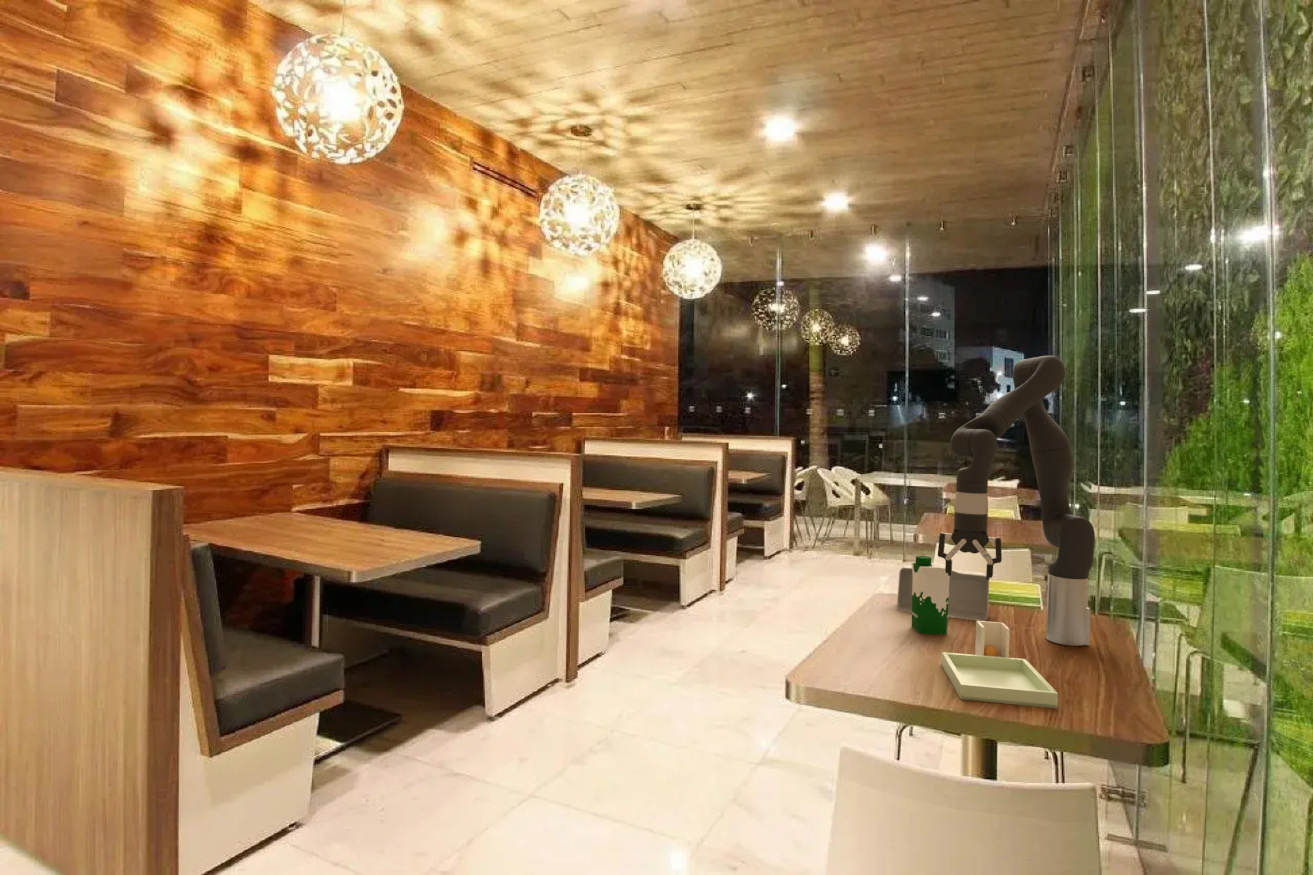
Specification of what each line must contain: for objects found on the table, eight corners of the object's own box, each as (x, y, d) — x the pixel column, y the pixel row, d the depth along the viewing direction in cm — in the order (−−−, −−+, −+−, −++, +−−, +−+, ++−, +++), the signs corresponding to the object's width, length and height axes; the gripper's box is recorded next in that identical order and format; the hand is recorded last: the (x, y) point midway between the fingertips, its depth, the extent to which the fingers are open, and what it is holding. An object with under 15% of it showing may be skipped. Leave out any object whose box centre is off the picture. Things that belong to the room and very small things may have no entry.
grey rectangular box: (988, 610, 224) (989, 569, 224) (987, 622, 210) (989, 578, 210) (902, 600, 235) (904, 561, 235) (896, 611, 220) (897, 569, 220)
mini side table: (974, 657, 176) (976, 620, 176) (1001, 660, 175) (1002, 622, 175) (980, 665, 170) (981, 627, 170) (1008, 668, 169) (1009, 629, 169)
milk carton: (907, 625, 203) (909, 554, 203) (940, 626, 203) (942, 555, 203) (917, 634, 195) (920, 559, 194) (952, 635, 194) (954, 560, 194)
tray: (1025, 672, 166) (1025, 659, 166) (1057, 708, 145) (1058, 693, 145) (941, 664, 170) (941, 652, 170) (960, 699, 148) (961, 684, 148)
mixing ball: (995, 658, 174) (995, 645, 175) (999, 660, 171) (998, 647, 172) (982, 657, 175) (982, 644, 175) (985, 659, 172) (985, 646, 172)
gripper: (1003, 511, 178) (1001, 578, 178) (941, 507, 185) (938, 571, 185) (1003, 514, 171) (1000, 583, 172) (938, 510, 178) (935, 576, 178)
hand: (968, 577), depth 178 cm, fingers open, 8 cm apart
